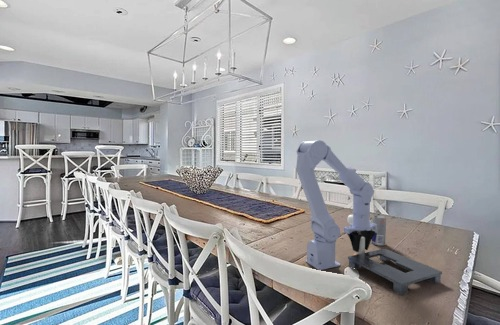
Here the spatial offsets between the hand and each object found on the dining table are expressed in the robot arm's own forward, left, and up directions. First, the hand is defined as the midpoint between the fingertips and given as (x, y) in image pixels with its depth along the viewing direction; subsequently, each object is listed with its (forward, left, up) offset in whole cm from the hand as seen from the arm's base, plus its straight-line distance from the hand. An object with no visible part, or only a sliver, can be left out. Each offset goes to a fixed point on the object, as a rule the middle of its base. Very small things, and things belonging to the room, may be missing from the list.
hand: (360, 250), depth 96 cm
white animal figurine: (+25, +24, -4) cm, 35 cm away
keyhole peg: (0, 0, -3) cm, 3 cm away
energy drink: (+19, +8, -3) cm, 21 cm away
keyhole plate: (0, -13, -3) cm, 13 cm away
